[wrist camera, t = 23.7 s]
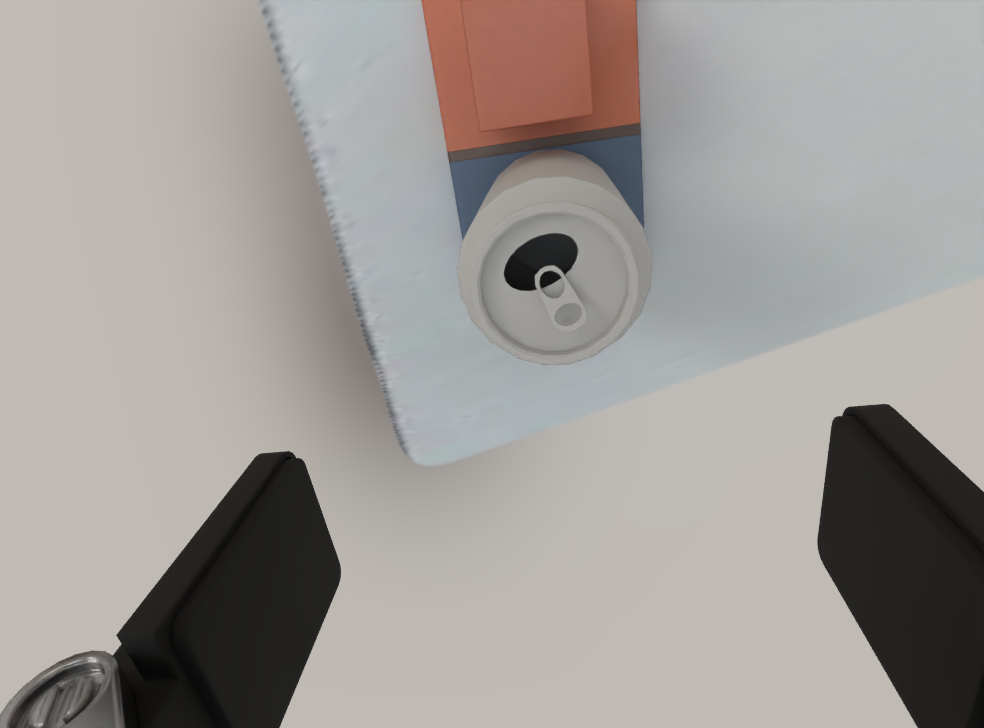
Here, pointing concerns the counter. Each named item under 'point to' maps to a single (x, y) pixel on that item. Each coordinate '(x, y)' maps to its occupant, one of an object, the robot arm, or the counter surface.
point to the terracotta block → (528, 61)
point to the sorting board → (597, 137)
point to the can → (554, 260)
